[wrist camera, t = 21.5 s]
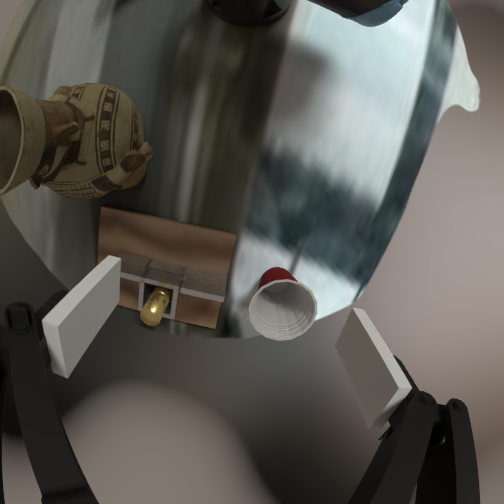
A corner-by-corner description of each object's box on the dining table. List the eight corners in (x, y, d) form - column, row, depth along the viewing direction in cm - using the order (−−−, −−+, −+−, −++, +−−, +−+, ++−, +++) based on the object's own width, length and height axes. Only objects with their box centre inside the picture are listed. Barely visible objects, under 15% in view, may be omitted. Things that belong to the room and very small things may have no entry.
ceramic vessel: (148, 214, 51) (56, 290, 22) (60, 175, 47) (-55, 211, 19) (189, 116, 45) (116, 78, 17) (93, 83, 41) (-21, 52, 13)
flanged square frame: (122, 251, 51) (105, 267, 44) (187, 267, 53) (178, 286, 45) (120, 282, 53) (105, 301, 46) (182, 297, 55) (174, 319, 48)
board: (103, 205, 50) (101, 206, 48) (236, 234, 52) (236, 236, 51) (99, 296, 56) (97, 298, 55) (215, 325, 59) (215, 328, 58)
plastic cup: (296, 245, 53) (310, 272, 42) (309, 295, 57) (323, 330, 46) (240, 262, 54) (239, 293, 43) (256, 310, 58) (259, 347, 46)
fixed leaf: (153, 258, 52) (139, 277, 44) (227, 275, 54) (224, 297, 46) (150, 289, 54) (137, 311, 47) (220, 305, 56) (217, 329, 48)
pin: (164, 268, 53) (141, 304, 40) (180, 273, 53) (161, 310, 40) (161, 283, 54) (139, 322, 41) (177, 288, 54) (159, 328, 41)
